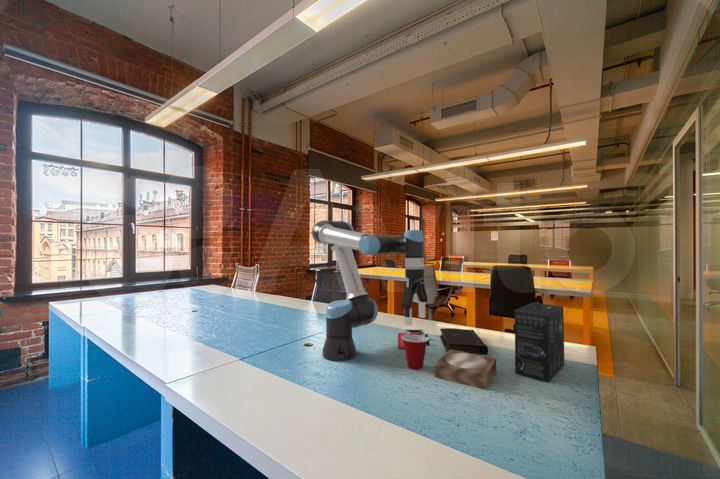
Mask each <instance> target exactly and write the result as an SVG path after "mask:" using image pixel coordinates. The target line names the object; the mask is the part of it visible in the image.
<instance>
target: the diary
mask: <svg viewBox="0 0 720 479" xmlns="http://www.w3.org/2000/svg"><path fill="white" fill-rule="evenodd" d="M439 330H440V332H441V333H440V334H439V338H440V340H441V342H442V345H443V348H445V353H447V352H448V351H449V350H450V349H452V350H457V351H462V352H467V353H473V354H478V355H484V354H485V356H487V355H488V354H489V348H488V346H487V344H485V343H484V342H483V340H482V339H481V338H480V336H479V335H478V334H477V333H476V331H475V330H474V329H466V328H465V329H464V328H453V327H452V328H451V327H450V328H446V327H445V328H443V327H442V328H439Z"/></svg>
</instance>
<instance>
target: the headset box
mask: <svg viewBox="0 0 720 479" xmlns="http://www.w3.org/2000/svg"><path fill="white" fill-rule="evenodd" d="M564 319H565V318H564V306H562V305H557V304H545V303H539V302H537V301H536V302H531V303H529V304H526V305H523V306H522V307H519V308H517V309H515V310H514V358H515V359H514V361H515V362H514V364H515V365H514V369H515V370H514V372H515V374H519V375H522V376H525V377H528V378H529V377H530V378H533V379H536V380H539V381H542V382H547V383H549V382H550V381H551V380H552V379H553V377H554V376H556V374H557V373H559V371H560V370H561V369H562V368H564V366H565V327H564V326H565V324H564V323H565V322H564Z"/></svg>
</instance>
